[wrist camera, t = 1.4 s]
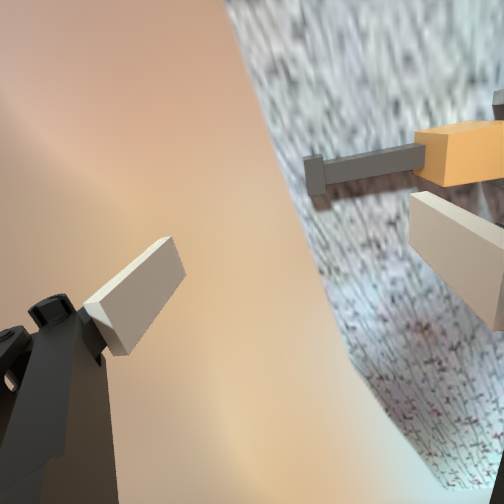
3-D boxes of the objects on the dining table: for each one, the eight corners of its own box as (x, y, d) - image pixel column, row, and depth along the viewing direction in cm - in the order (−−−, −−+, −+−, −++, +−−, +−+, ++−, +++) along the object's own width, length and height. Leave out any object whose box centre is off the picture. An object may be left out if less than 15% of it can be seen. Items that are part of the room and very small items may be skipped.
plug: (302, 154, 31) (304, 163, 25) (468, 120, 27) (519, 120, 21) (307, 192, 33) (310, 208, 27) (463, 165, 29) (508, 176, 23)
